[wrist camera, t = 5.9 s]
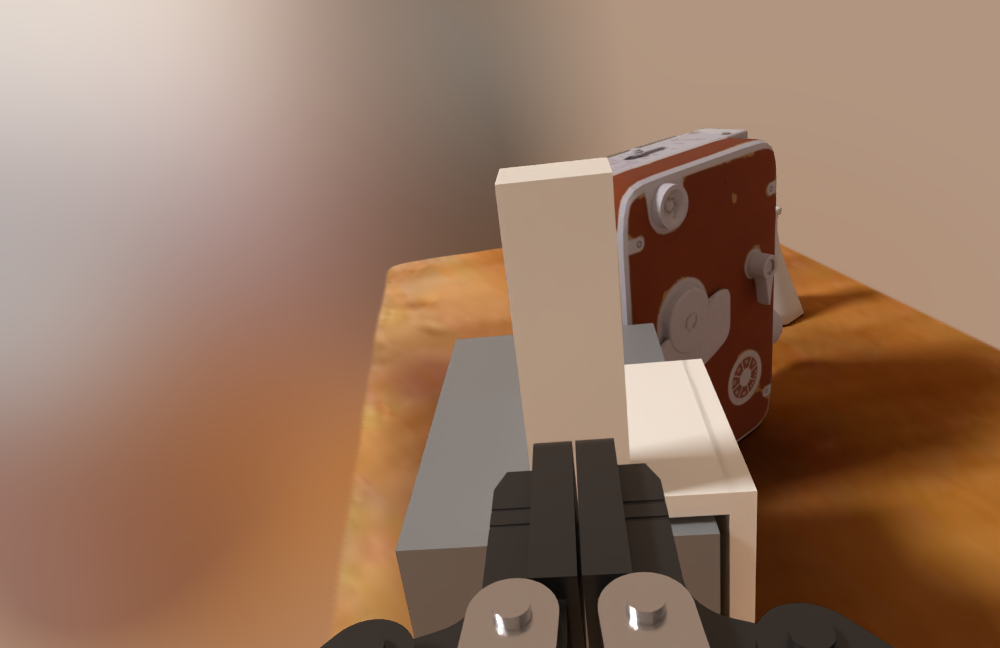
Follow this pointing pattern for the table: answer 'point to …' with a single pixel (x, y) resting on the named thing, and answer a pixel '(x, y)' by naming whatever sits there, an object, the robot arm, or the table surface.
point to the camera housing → (478, 470)
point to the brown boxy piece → (703, 258)
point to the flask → (784, 286)
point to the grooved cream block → (614, 362)
